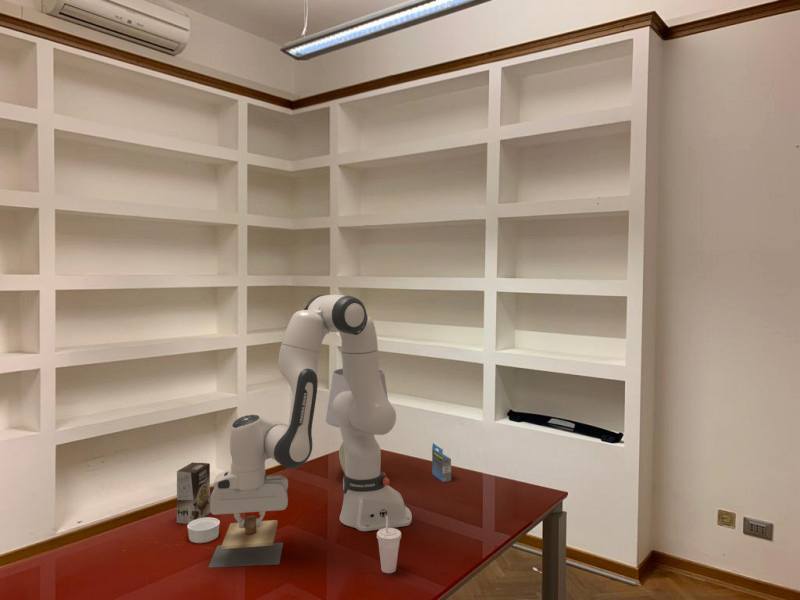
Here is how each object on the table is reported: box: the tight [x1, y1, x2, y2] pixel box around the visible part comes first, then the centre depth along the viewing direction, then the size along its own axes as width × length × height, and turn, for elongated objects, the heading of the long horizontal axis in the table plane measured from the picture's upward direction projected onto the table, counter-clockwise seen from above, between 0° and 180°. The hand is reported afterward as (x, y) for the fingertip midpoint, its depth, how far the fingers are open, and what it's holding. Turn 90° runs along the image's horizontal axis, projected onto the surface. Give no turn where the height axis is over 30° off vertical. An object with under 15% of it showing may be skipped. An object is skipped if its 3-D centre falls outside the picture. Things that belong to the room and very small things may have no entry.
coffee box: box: [176, 462, 211, 524], centre depth 180 cm, size 9×6×16 cm
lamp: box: [325, 367, 389, 474], centre depth 215 cm, size 24×24×40 cm
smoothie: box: [376, 516, 402, 574], centre depth 150 cm, size 6×6×14 cm
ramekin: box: [186, 516, 221, 544], centre depth 167 cm, size 9×9×4 cm
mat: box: [208, 542, 284, 568], centre depth 157 cm, size 18×12×1 cm, turn 96°
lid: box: [221, 515, 279, 549], centre depth 157 cm, size 13×13×5 cm
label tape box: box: [431, 442, 452, 483], centre depth 217 cm, size 9×4×12 cm, turn 23°
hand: (250, 526), depth 157 cm, fingers closed on lid, 3 cm apart
